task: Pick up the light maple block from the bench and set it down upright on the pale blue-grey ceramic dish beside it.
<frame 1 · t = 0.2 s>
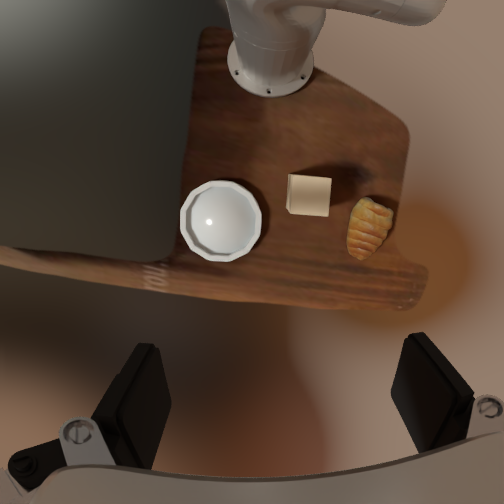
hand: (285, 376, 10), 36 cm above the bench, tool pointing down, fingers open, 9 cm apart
maple block: (304, 191, 44), on the bench
dish: (221, 220, 45), on the bench
pastry: (366, 224, 45), on the bench
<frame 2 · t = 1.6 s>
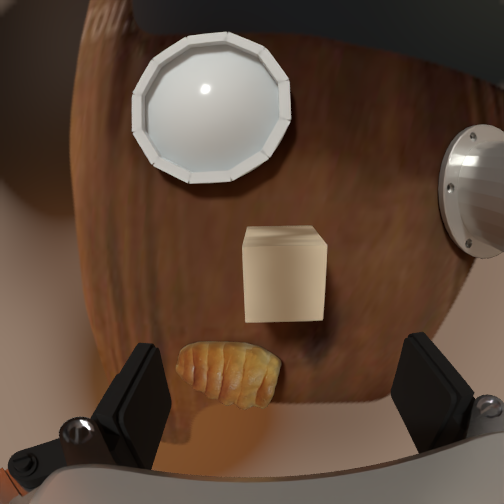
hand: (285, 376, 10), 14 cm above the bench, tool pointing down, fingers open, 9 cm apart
maple block: (279, 256, 24), on the bench
dish: (210, 106, 21), on the bench
pastry: (235, 366, 28), on the bench
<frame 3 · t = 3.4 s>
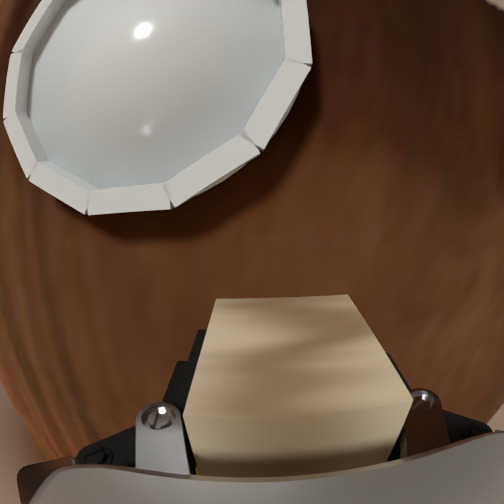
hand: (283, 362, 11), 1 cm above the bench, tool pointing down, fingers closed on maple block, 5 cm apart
maple block: (282, 352, 12), on the bench, touching gripper
dish: (139, 52, 9), on the bench
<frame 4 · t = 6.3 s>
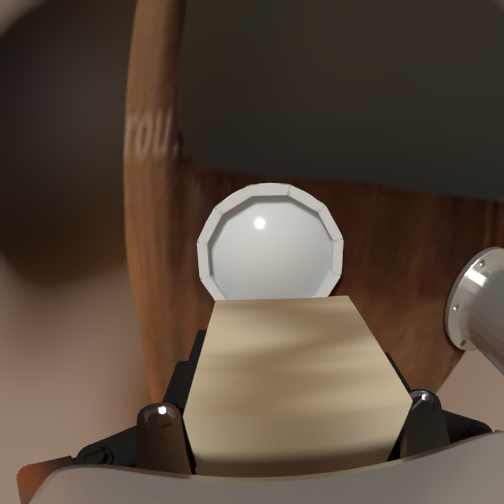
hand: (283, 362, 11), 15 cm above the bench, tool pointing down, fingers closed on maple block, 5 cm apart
maple block: (282, 353, 12), point 14 cm above the bench, touching gripper
dish: (270, 254, 26), on the bench
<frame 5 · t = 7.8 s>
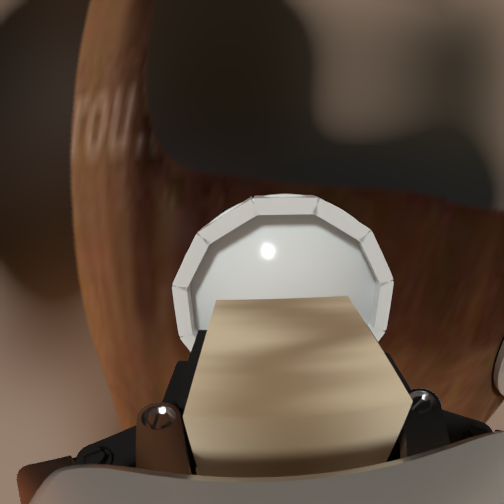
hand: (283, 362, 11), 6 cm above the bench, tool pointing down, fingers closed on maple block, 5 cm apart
maple block: (282, 353, 12), point 5 cm above the bench, touching gripper
dish: (284, 301, 17), on the bench
when the fingers open (3 cm above the bench, at t = 9.2 s): maple block drops 2 cm, resting on dish.
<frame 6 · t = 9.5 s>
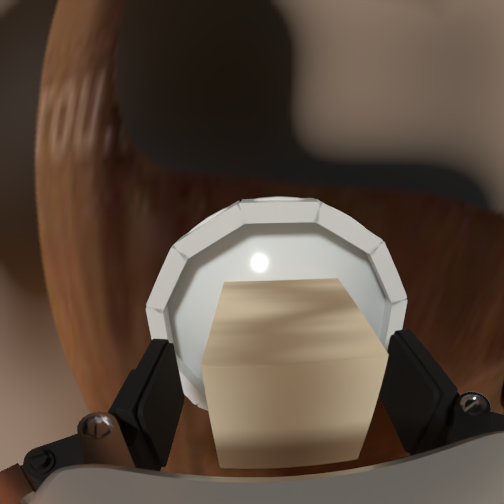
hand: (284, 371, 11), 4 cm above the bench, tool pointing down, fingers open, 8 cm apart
maple block: (281, 330, 14), point 1 cm above the bench, touching dish
dish: (278, 323, 14), on the bench
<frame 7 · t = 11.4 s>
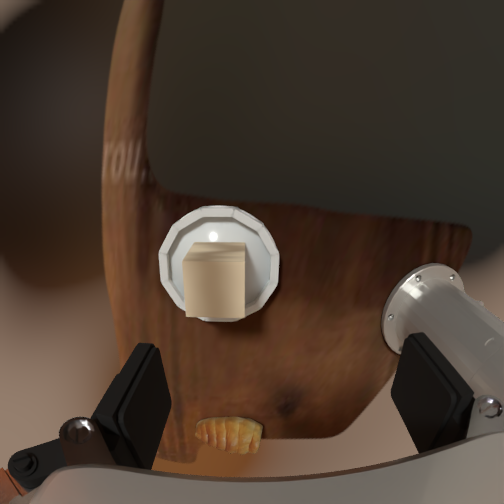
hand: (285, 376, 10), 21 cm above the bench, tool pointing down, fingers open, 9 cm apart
maple block: (219, 266, 30), point 1 cm above the bench, touching dish
dish: (219, 264, 31), on the bench
pastry: (233, 428, 39), on the bench
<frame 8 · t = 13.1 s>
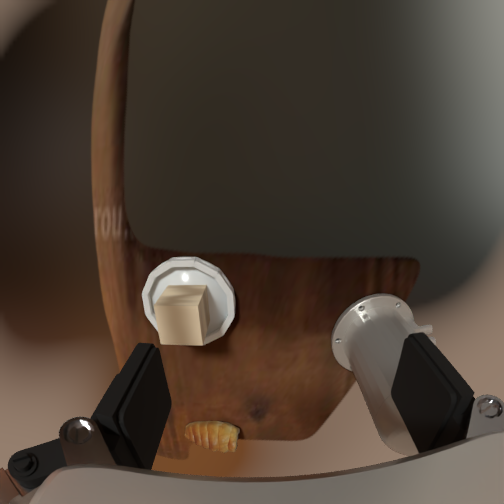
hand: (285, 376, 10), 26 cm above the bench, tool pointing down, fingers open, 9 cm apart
maple block: (189, 303, 38), point 1 cm above the bench, touching dish
dish: (189, 300, 38), on the bench
pastry: (216, 430, 46), on the bench
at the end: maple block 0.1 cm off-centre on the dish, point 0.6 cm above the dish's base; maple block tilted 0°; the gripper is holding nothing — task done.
